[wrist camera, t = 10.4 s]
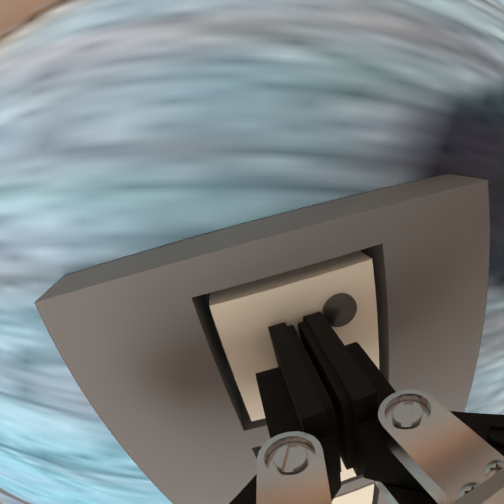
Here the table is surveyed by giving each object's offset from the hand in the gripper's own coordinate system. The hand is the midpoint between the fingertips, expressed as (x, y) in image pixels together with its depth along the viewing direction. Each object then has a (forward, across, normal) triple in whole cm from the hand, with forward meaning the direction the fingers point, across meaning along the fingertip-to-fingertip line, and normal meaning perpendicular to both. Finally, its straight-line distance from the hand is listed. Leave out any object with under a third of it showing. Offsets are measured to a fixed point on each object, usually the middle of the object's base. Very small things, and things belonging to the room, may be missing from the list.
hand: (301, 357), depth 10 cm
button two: (+2, 0, 0) cm, 2 cm away
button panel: (+3, 0, +7) cm, 7 cm away
